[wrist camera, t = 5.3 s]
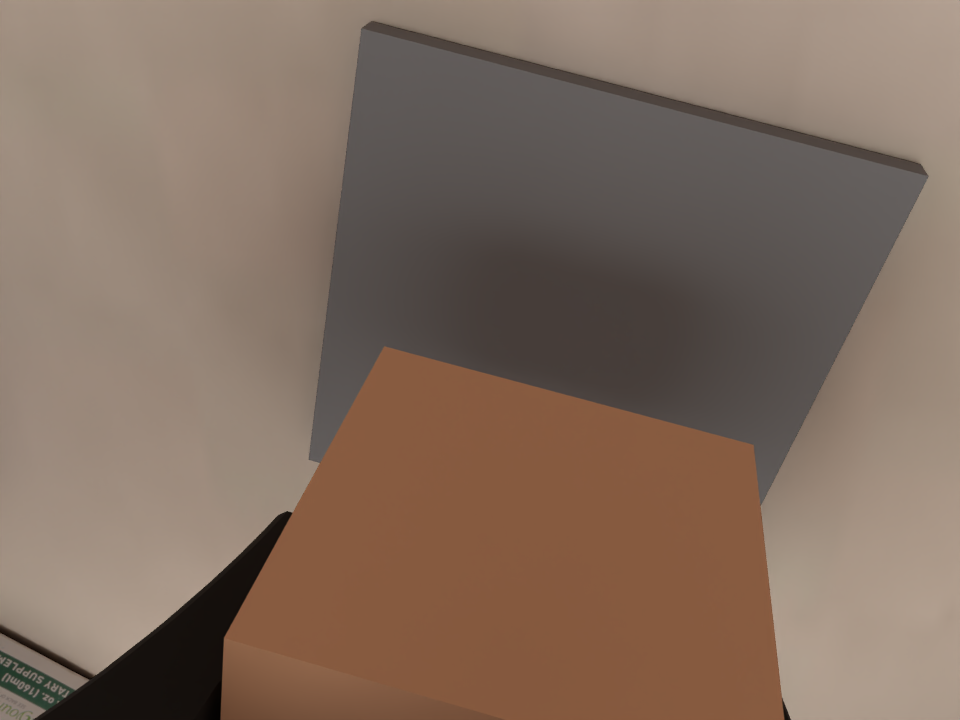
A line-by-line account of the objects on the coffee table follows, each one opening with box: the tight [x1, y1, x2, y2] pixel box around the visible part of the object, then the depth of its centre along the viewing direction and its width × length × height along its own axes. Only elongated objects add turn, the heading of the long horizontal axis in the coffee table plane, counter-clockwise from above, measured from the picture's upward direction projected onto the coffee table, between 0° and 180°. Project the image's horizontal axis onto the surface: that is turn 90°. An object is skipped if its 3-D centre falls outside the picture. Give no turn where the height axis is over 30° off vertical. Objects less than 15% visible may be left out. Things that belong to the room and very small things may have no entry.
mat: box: [309, 21, 928, 506], centre depth 18 cm, size 10×10×1 cm
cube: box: [220, 346, 784, 720], centre depth 11 cm, size 5×5×5 cm
